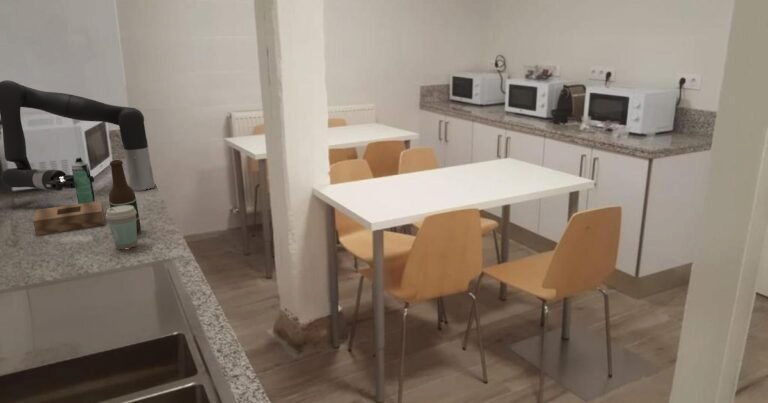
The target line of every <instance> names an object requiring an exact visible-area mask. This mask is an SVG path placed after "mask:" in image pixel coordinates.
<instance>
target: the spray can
mask: <svg viewBox="0 0 768 403" xmlns="http://www.w3.org/2000/svg"><path fill="white" fill-rule="evenodd" d="M71 172H72V175H73V177H74V182H75V188H74V189H75V192H76V197H77V202H78V203H77V204H82V203H89V202H96V198H95V194H94V193H95V192H94V187H93V182H92V181H91V176H92V175H91V170H90V166H89V163H88V162H85V161H84V160H82V157H76V158H75V161H74V163H73V164H71Z"/></svg>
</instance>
